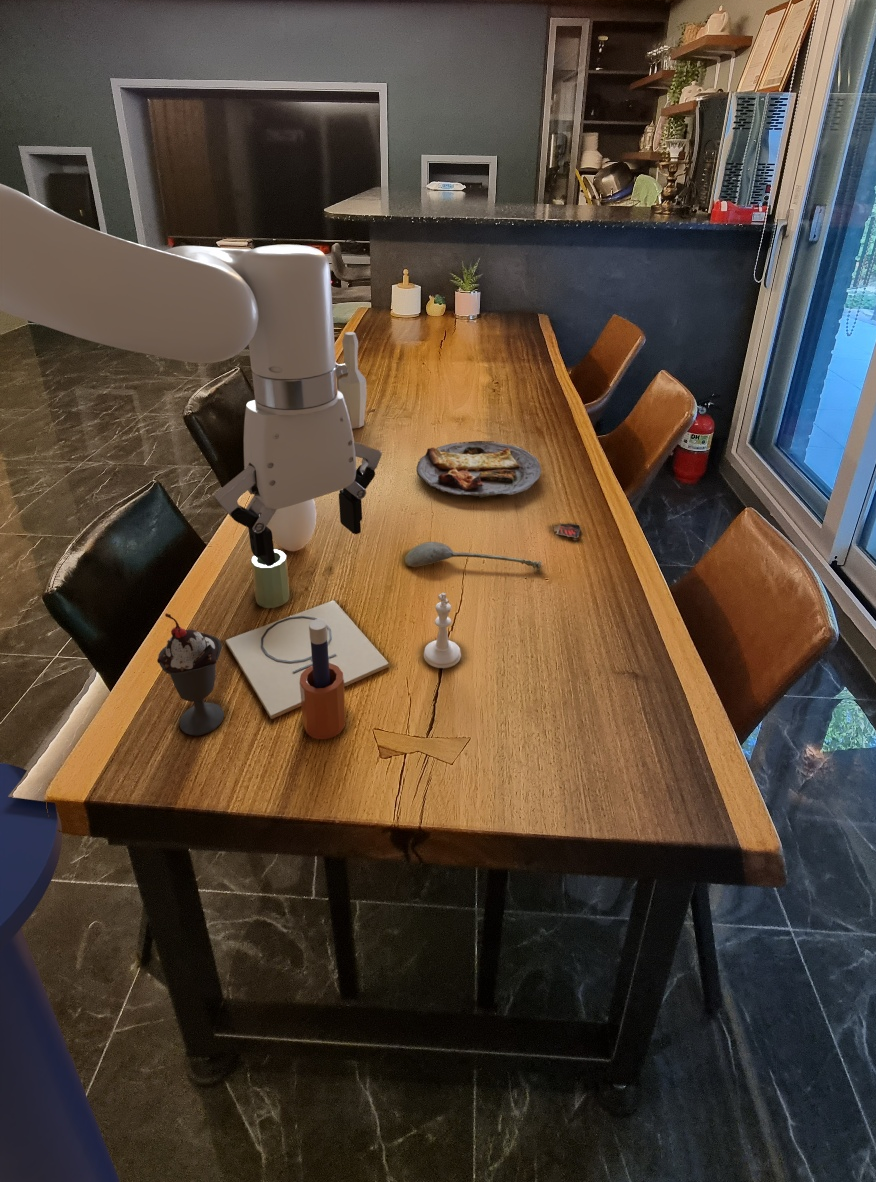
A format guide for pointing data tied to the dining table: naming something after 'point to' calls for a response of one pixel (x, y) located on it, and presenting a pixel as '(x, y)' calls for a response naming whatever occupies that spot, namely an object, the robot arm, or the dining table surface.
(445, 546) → the soupspoon
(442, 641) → the chess piece
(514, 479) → the food plate
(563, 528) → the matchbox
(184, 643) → the sundae
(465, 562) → the dining table surface
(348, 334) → the low poly bottle
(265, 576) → the pen cup
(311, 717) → the pen pot
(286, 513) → the sauce bottle
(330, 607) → the sketch pad
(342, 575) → the dining table surface
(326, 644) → the marker
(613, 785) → the dining table surface
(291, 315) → the robot arm
